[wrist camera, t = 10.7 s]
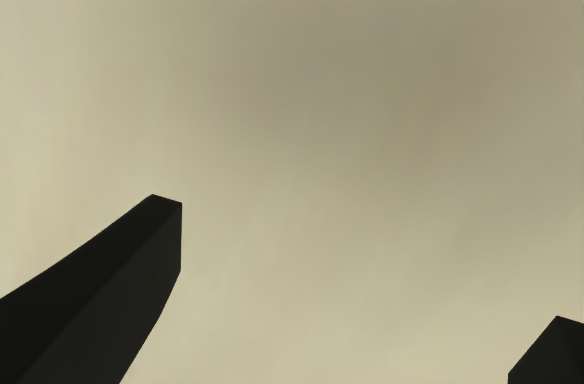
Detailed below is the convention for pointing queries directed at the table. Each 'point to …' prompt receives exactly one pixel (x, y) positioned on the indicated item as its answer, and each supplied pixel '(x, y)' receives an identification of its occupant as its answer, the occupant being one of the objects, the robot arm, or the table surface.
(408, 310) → the table surface
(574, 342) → the robot arm
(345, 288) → the table surface
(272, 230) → the table surface
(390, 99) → the table surface
